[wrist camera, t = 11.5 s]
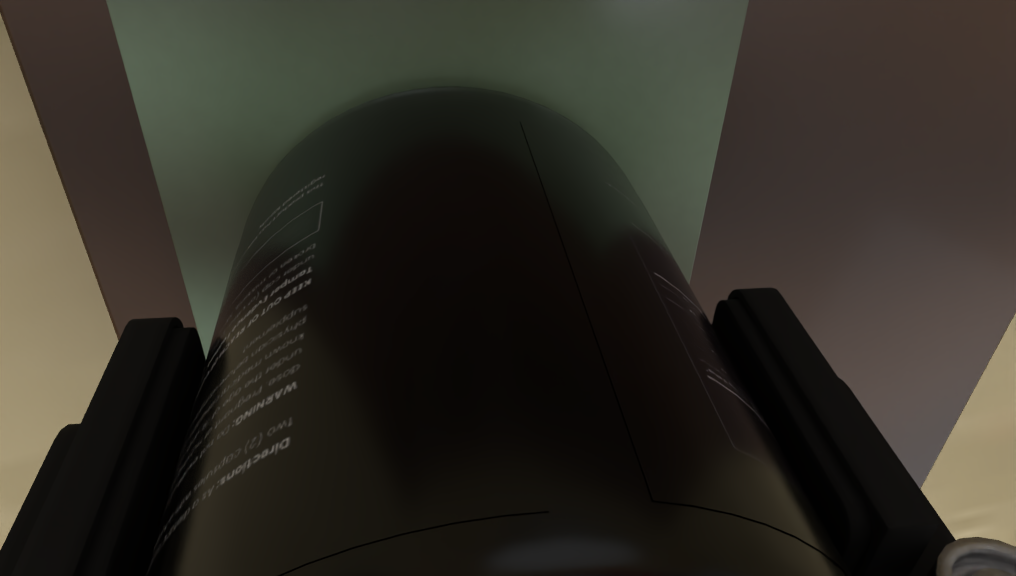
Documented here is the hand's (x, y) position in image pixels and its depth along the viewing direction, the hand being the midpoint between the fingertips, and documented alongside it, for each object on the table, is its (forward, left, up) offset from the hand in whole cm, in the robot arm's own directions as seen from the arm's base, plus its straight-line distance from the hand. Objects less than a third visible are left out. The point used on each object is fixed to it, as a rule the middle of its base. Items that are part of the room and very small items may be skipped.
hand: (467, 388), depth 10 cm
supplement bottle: (0, 0, -3) cm, 3 cm away
